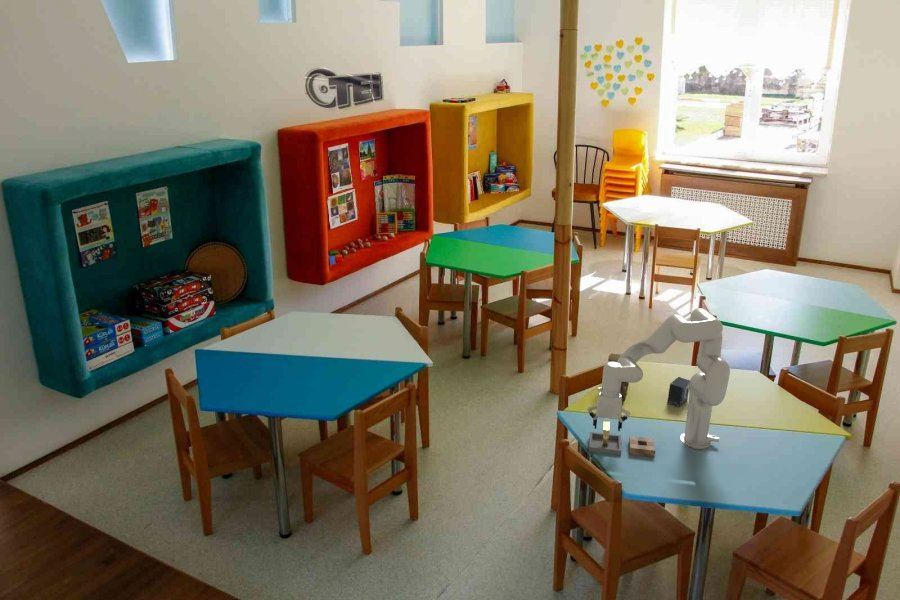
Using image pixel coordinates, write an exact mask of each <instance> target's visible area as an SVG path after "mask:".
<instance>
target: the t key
mask: <svg viewBox="0 0 900 600" xmlns="http://www.w3.org/2000/svg"><path fill="white" fill-rule="evenodd" d="M610 423H611V422H610V421H605V420H604V421H603V423H602V424H603V425H602V426H603V427H602V433H603V444H602V445H603V446H605V447H607V446H608V441H609V434H610V430H611V429H610V428H611V427H610Z"/></svg>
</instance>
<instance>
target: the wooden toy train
mask: <svg viewBox="0 0 900 600" xmlns="http://www.w3.org/2000/svg"><path fill="white" fill-rule="evenodd" d="M621 355H622V354H620V353H610V354H609V355H608V358H607V362H610V361H613V362H617V361H618V359H619V357H620V356H621ZM629 386H630V383H629V382H621V388H620V394H621V396H622V402H624V401H625V400H626V398H627V394H628V393H627V391H628V388H629Z"/></svg>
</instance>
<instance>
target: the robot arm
mask: <svg viewBox="0 0 900 600" xmlns="http://www.w3.org/2000/svg"><path fill="white" fill-rule="evenodd" d="M689 317H690V318H689V320H690V321H689V320H688V319H687V318H685V317H684V316H682V315H681V314H675V313H674V314H671V315H669V316H668V317H667V318H666V319H665V320H664V321H663V322H662V323H660V325H659V326H658V327H657V328H656V329H655V331H654V332H652V333H651V334H650V335H649V337H647V338H646V339H642V340H640V341H638V342H637V343H634V344H632V345H631V346H629V347H628V348H627V349H626V350H625V351H624V352H623V353H622V354H621V356H620V357H619V359H618V361H617V362H613V361H610V362H608V361H607V362H604V365H603V371H602V382H601V386H600V387H597V391H598V392H599V393H598V397H597V401H596V404H595V405H592V406H589V407H587V412H588V415H589V416H590V417H591V418H592V420H593V422H592V426H593V427H594V429H597V423H598V419H601V418H602V419H608V420H618V423H617V425H618V426H617V431H618V432H620V431H621V429H622V427H623V423H624V422H625V421H626V420H628V418H629V417H630V415H631V411H629V410H628V409H625V408H624V407H623V400H622V396H621V394H620V388H621V382H629V384H631V383H632V384H635V383H638V382H640V381H642V379H643V377H644V372H643V369H642V368H641V367H640V366H639V365H638V361H640V360H641V359H642V358H644V357H645V356H648V355H652V354H653V355H654V354H657V355H658V354H659V355H660V354H664V353H665V352H666V351H667V350H668V349H669V348H670V347H671V346H672V345H673V344H674V343H675V342H676V341H678V342H680V343H684V344H685V343H686V344H688V343H696V342H699V346H698V351H697V352H698V353H697V356H696V357H697V358H696V366H697V368H698V369H699V370H700V371H699V372H695V373H694V374H693V375H692V376H691V377H690V379H689V380H690V382H689V392H688V404H687V405H688V406H687V412H686V420H685V427H684V433H682V434H681V435H680V437H679V439H680V441H681V442H682V443H683V444H684V445H687V446H689V447H688V448H691V449H695V450H704V449H708V448H710V446H711V443H712V442H714V443H719V442H720V437H717V436H716V435H715V434H709V429H710V423H711V418H712V417H711V416H712V410H713V407H716V406H718V405H720V404H722V403H723V401H724V399H725V397H726V394H727V390H728V385H729V379H730V374H731V370H730V369H731V368H730V366H729V363H728V362H727V361H726V360H725V359H724V358H723V357H722V356H721V355H722V354H721V353H722V345H723V329H724V326H723V323H722V322H721V321H720V320H719V319H718V318H717V316H714V315H713V314H712V313H711V312H710V311H709V310H707V309H705V308H700V307H697V308H695V309H693V310H692V312H691V314H690V316H689ZM595 410H596V411H595ZM593 411H595V413H594V412H593ZM622 413H624V414H625V415H623V416H622Z"/></svg>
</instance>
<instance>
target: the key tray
mask: <svg viewBox="0 0 900 600" xmlns="http://www.w3.org/2000/svg"><path fill="white" fill-rule="evenodd" d="M588 439H589V440H588V443H589V444H588V454H590V455H593V452H594V453H601V454H608V455H616V456H617V455H618V456H621V455H622V451H623V450H622V449H623V448H622V435H619V434H612V433H609V441H608V446H607V447H605V446H603V445H602V444H603V432H595V431H594V432H593V431H590V432H589V438H588Z"/></svg>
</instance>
